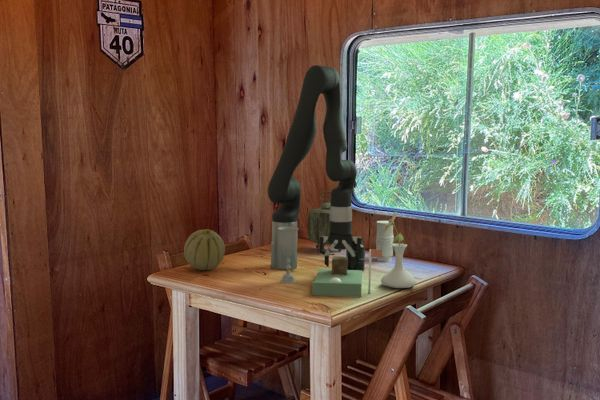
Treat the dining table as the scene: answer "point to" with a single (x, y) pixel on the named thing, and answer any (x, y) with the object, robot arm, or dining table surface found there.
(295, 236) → the chalice
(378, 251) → the flag pin
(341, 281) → the ball
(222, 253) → the cantaloupe
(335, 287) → the green
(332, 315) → the dining table surface
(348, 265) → the supplement bottle
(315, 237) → the tabletop clock
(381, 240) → the candle
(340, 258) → the wooden channel cradle
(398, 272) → the flower in vase
